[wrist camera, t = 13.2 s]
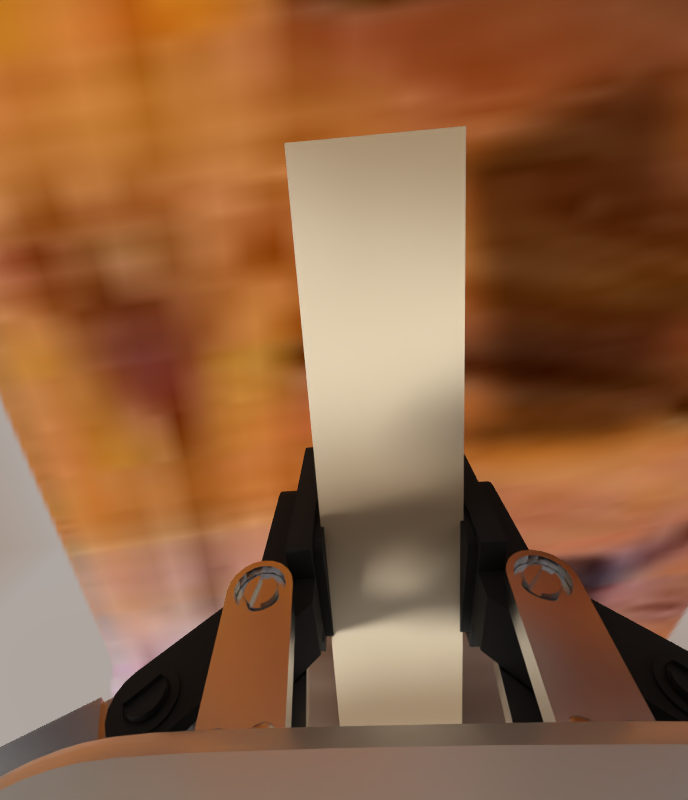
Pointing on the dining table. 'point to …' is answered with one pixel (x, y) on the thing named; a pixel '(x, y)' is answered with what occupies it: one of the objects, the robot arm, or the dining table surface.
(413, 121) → the dining table surface
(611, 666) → the robot arm
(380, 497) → the cream upright plaque
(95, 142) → the dining table surface
